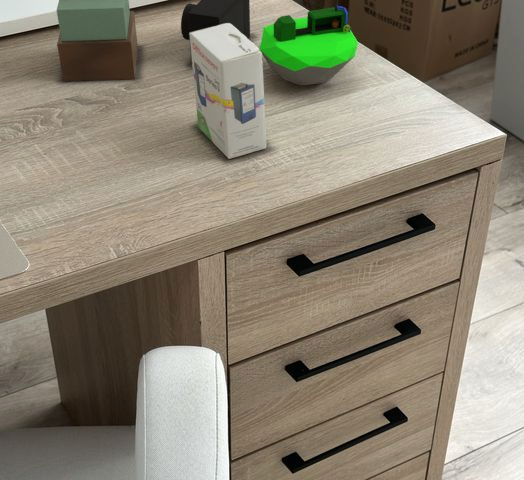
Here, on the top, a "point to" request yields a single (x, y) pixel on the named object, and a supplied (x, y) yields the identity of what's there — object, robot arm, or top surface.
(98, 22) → the top block
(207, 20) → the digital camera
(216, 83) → the ink box
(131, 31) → the bottom block
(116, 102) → the top surface
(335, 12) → the toy floating island
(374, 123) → the top surface
